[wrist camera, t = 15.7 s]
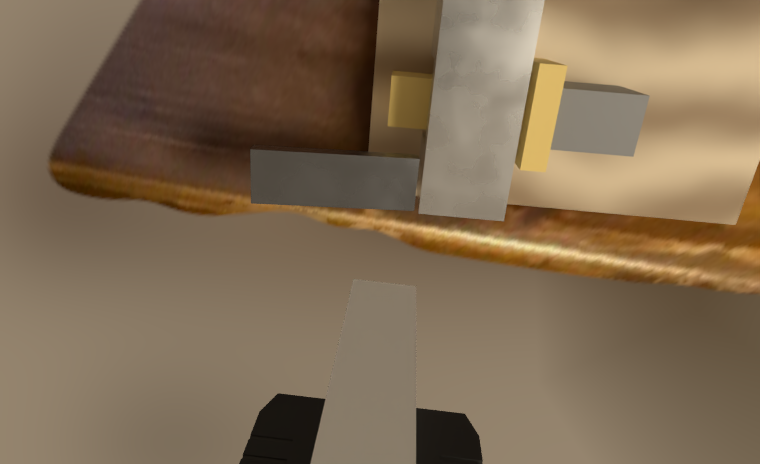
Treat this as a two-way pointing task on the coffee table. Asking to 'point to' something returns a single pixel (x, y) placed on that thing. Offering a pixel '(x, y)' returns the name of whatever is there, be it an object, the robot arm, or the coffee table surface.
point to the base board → (633, 71)
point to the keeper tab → (333, 178)
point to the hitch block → (476, 105)
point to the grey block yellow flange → (544, 114)
